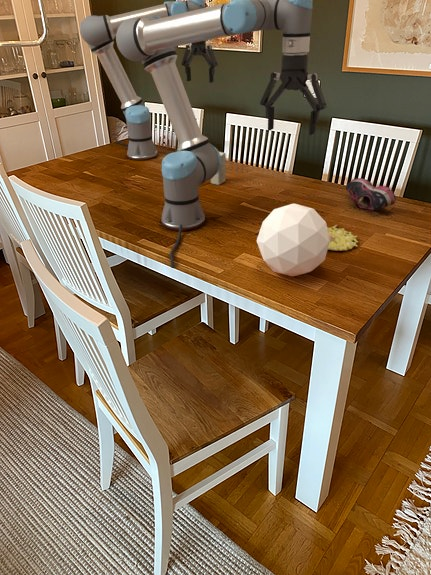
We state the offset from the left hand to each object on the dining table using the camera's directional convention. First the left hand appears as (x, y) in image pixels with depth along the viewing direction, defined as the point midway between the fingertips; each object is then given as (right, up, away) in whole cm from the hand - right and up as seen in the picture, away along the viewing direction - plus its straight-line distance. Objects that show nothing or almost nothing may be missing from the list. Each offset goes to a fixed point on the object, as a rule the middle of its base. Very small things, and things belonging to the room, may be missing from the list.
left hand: (200, 81), depth 225 cm
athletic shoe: (+63, -75, -61) cm, 115 cm away
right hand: (+31, -57, -89) cm, 110 cm away
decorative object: (+44, -89, -83) cm, 130 cm away
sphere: (+29, -100, -99) cm, 144 cm away
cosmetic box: (+9, -59, -35) cm, 69 cm away
